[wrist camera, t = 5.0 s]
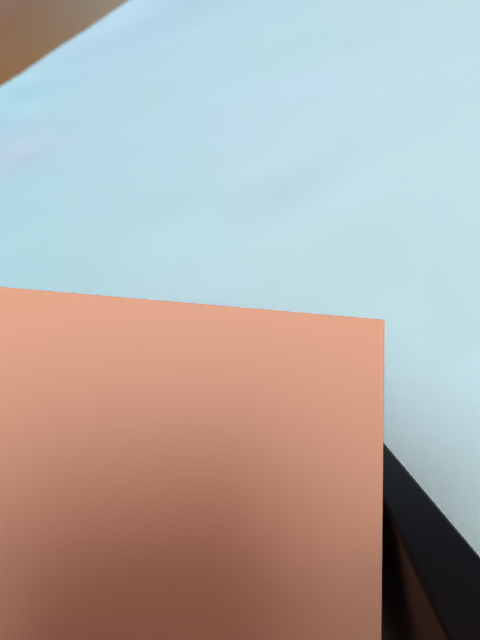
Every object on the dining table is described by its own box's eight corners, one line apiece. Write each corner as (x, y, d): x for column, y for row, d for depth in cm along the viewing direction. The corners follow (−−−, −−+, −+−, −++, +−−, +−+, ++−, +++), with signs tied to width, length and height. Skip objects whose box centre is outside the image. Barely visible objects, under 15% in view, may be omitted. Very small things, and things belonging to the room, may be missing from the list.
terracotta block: (301, 587, 14) (379, 844, 5) (100, 562, 14) (-134, 762, 6) (312, 380, 16) (384, 320, 7) (133, 363, 16) (-7, 286, 8)
